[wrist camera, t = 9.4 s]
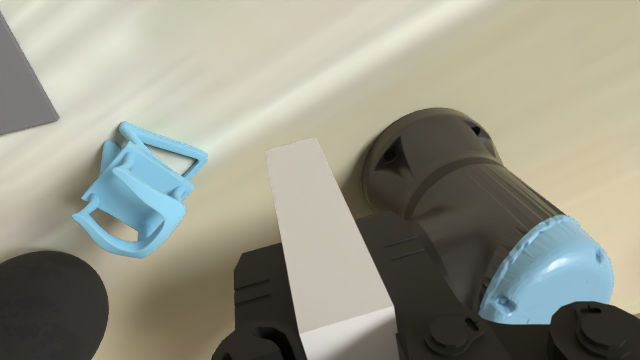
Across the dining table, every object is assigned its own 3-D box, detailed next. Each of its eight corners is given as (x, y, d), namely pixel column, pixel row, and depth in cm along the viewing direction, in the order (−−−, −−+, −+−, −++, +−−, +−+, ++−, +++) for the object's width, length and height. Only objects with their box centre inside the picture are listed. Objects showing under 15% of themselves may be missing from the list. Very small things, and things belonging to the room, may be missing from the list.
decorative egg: (90, 325, 51) (44, 455, 38) (-26, 287, 45) (-125, 423, 32) (142, 254, 47) (111, 370, 34) (24, 203, 42) (-65, 319, 29)
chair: (137, 102, 39) (105, 158, 29) (210, 155, 43) (203, 221, 33) (89, 159, 41) (42, 231, 31) (163, 205, 45) (143, 283, 35)
